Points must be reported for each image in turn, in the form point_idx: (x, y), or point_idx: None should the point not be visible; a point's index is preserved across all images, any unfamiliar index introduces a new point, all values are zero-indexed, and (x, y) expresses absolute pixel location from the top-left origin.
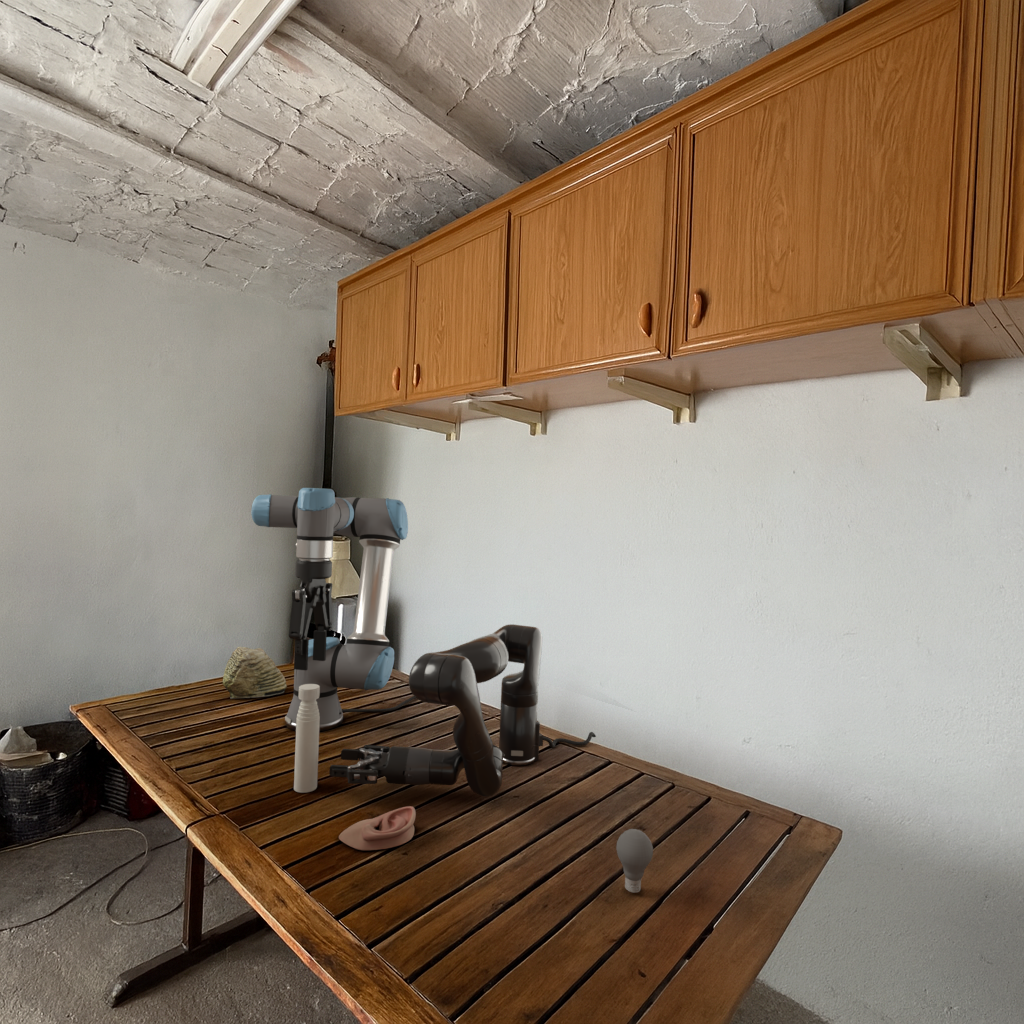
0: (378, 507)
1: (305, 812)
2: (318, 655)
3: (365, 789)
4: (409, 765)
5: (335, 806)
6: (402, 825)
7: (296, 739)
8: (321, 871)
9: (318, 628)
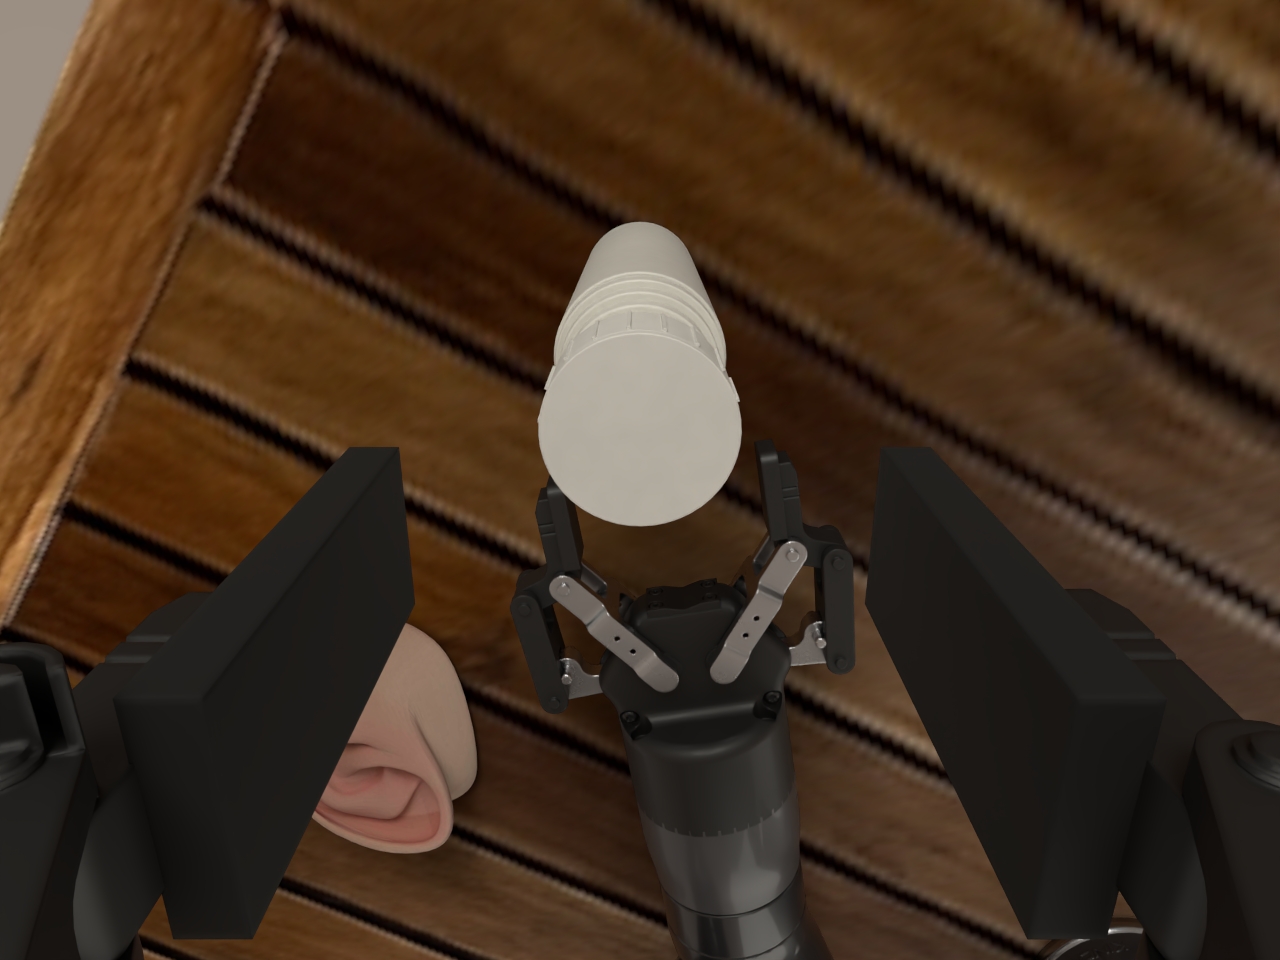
0: None
1: (429, 393)
2: (892, 559)
3: (696, 538)
4: (643, 821)
5: (517, 485)
6: (364, 814)
7: (583, 278)
8: (107, 627)
9: (1177, 809)
